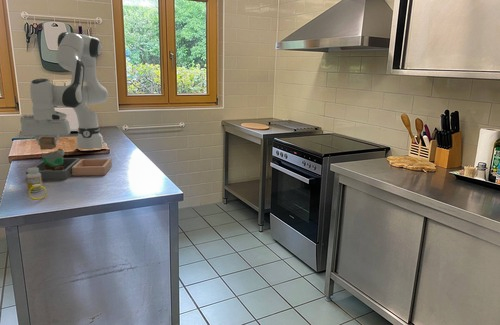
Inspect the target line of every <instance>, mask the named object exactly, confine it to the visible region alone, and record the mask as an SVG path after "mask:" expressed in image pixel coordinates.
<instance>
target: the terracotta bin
mask: <svg viewBox="0 0 500 325" xmlns="http://www.w3.org/2000/svg"><path fill="white" fill-rule="evenodd" d="M112 160H113V159H112V158H81V160H80V161H79V162H78V163H76V164H75V165H74V166H73V167H72V176H106V175H107V173H108V172H109V171H110V169H111V168H112V167H113V162H112Z"/></svg>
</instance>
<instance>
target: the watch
mask: <svg viewBox="0 0 500 325" xmlns="http://www.w3.org/2000/svg"><path fill="white" fill-rule="evenodd" d="M37 187H42V188H43V190H44V194H43V196H41V197H40V196H39V197H34V196H32V194H31V192H30V191H31V189H33V188H37ZM28 196H29V198H30V199H32V200H34V201H36V200H43V199H44V198H45V197H46V196H47V189H46V187H45V186H41V185H40V184H34V185H33V187H31V188H30V190H28Z"/></svg>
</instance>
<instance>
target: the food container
mask: <svg viewBox="0 0 500 325" xmlns="http://www.w3.org/2000/svg"><path fill="white" fill-rule="evenodd" d="M64 155H65V151H64V150H63V149H62V148H58V149H57V150H54V151H50V152H48V153H43V152H42V153H41V158H42V161H44V166H45V169H44V171H58V170H65V168H64V167H65V166H63V158H64Z"/></svg>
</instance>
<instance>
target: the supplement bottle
mask: <svg viewBox="0 0 500 325" xmlns="http://www.w3.org/2000/svg"><path fill="white" fill-rule="evenodd" d="M27 171H28V174H27V176H26V175H25V176H26V183H27V190H28V191H29V190H30V188H31V187H33V185H34V184H40V185H41V186H43V180H42V177H41V173H39V168H37V167H34V166H33V168H32V167H28V168H27ZM43 190H44V189H43V188H42V187H37V188H33V189H31V191H30V193H39V192H40V193H41V191H43Z"/></svg>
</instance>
